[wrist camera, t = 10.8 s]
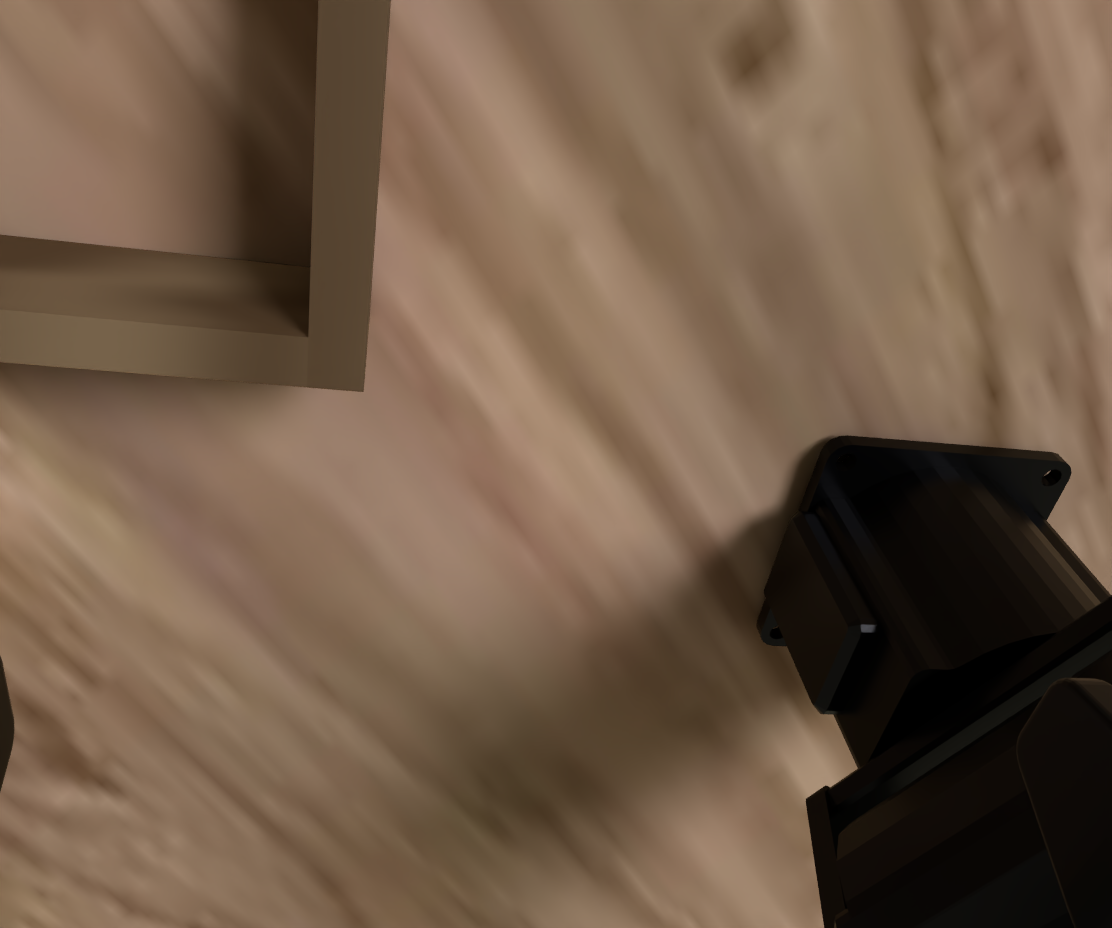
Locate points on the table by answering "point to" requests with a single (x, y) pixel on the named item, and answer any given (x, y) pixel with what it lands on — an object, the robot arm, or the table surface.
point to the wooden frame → (229, 262)
